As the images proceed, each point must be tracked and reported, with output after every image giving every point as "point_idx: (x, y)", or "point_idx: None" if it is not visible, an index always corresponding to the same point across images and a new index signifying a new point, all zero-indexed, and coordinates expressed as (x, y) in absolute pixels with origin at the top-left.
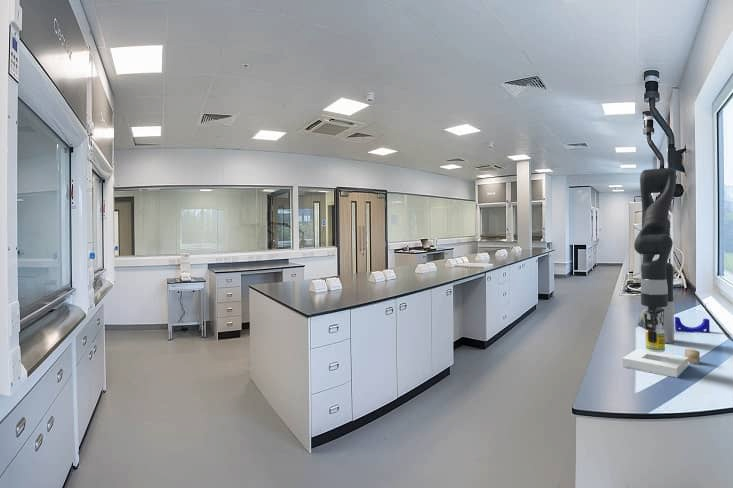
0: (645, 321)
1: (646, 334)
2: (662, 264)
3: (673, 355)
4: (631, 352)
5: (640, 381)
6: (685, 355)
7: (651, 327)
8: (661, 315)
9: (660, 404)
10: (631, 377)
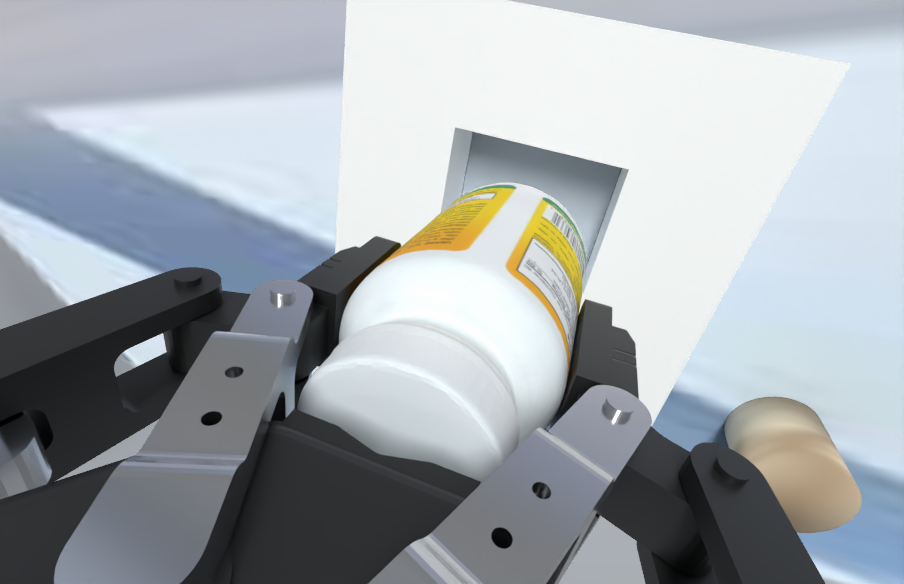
0: (13, 336)
1: (408, 243)
2: None
3: (664, 357)
4: (619, 21)
5: (181, 127)
6: (779, 430)
7: (169, 355)
8: None
9: (15, 205)
10: (206, 74)
